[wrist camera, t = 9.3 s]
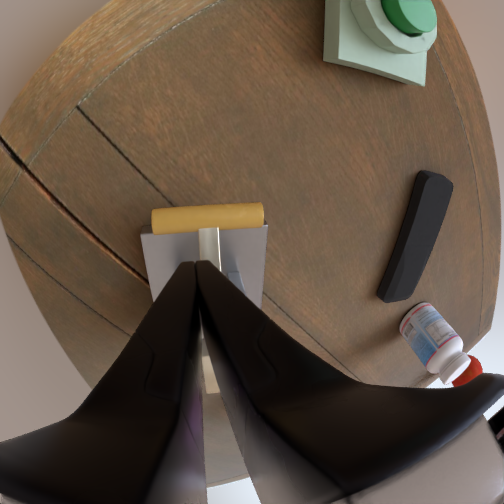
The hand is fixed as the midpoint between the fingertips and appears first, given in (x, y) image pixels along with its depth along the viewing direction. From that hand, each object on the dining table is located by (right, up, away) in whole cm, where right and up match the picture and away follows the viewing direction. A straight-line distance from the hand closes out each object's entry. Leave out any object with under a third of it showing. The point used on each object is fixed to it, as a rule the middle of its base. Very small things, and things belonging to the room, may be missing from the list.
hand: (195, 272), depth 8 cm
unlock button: (+11, +16, +2) cm, 20 cm away
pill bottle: (+25, -8, +26) cm, 37 cm away
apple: (+50, -24, +43) cm, 70 cm away
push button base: (+11, +18, +5) cm, 22 cm away
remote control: (+19, +2, +18) cm, 26 cm away
